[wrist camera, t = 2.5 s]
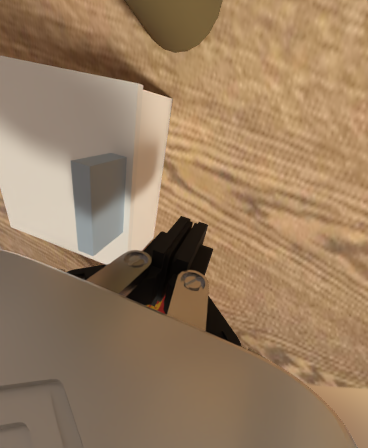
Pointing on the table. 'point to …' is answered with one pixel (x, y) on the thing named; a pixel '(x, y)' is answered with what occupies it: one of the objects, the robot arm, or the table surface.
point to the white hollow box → (150, 166)
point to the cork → (176, 21)
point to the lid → (69, 156)
